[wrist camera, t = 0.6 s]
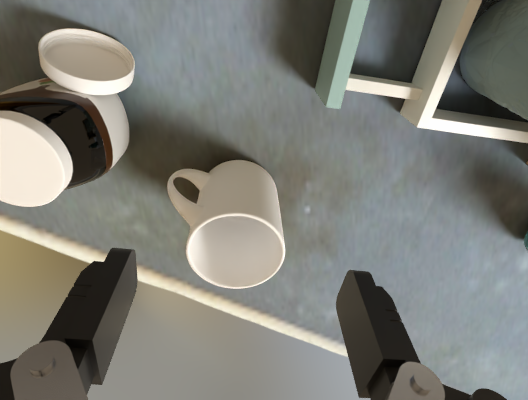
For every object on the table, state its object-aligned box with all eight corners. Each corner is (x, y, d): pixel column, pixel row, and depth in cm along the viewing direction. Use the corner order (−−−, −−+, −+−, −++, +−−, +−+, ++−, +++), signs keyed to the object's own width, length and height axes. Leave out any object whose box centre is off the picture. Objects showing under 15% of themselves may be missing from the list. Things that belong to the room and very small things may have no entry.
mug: (201, 122, 33) (183, 171, 24) (292, 184, 38) (305, 245, 28) (160, 182, 37) (131, 244, 28) (247, 233, 41) (246, 301, 32)
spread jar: (47, 152, 34) (-34, 216, 25) (-4, 30, 28) (-139, 50, 19) (162, 145, 35) (128, 206, 25) (135, 23, 29) (75, 39, 19)
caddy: (358, -101, 25) (384, -123, 20) (637, -39, 27) (717, -45, 23) (312, 100, 32) (322, 118, 28) (532, 133, 35) (576, 154, 30)
